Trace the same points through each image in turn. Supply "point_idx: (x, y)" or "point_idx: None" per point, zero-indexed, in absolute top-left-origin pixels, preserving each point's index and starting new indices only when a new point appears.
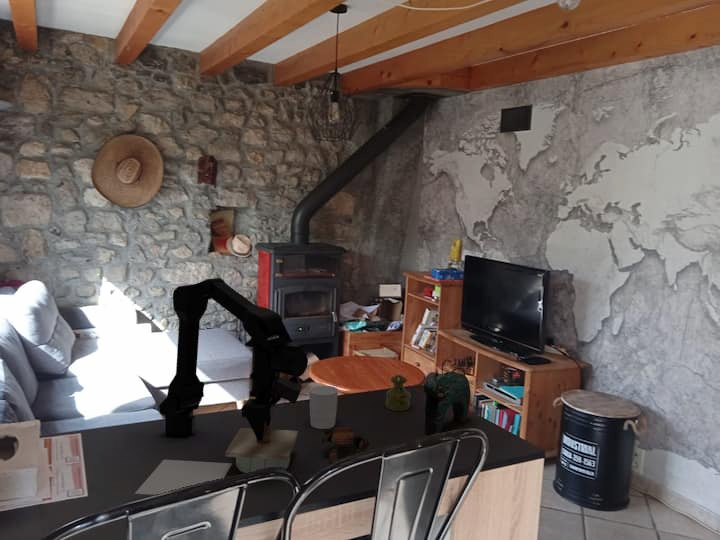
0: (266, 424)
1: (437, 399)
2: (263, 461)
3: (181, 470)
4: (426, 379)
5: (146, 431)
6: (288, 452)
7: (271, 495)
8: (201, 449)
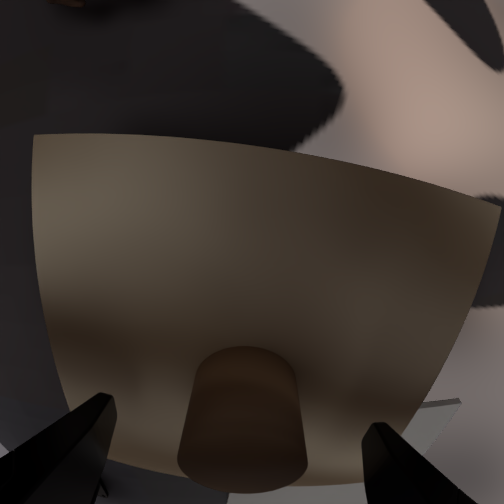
0: (107, 424)
1: None
2: None
3: (290, 486)
4: None
5: None
6: (467, 204)
7: (491, 247)
8: None
